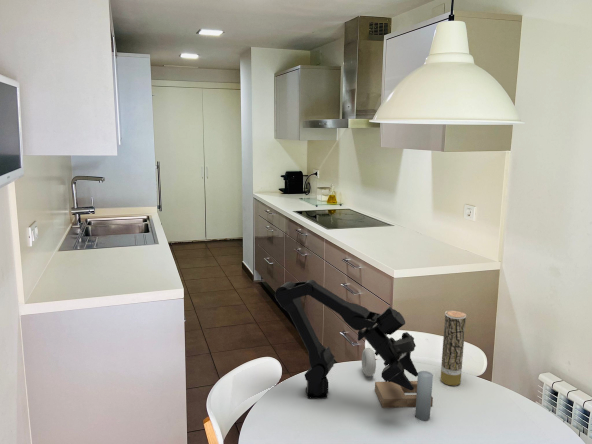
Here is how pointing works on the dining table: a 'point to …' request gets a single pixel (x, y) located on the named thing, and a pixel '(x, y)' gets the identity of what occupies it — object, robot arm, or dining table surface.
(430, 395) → the peg
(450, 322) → the bark textured cylinder
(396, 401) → the socket block
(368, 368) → the donut
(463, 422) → the dining table surface
